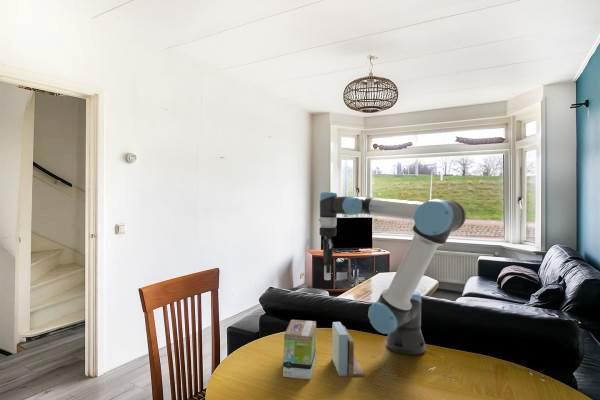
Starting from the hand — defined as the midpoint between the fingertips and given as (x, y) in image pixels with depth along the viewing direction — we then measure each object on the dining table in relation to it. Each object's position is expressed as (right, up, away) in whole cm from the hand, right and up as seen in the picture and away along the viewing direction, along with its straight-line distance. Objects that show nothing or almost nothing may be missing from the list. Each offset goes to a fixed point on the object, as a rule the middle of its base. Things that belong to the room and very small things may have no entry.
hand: (327, 279), depth 151 cm
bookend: (+7, -25, -28) cm, 38 cm away
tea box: (-12, -25, -30) cm, 41 cm away
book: (+2, -25, -29) cm, 38 cm away
